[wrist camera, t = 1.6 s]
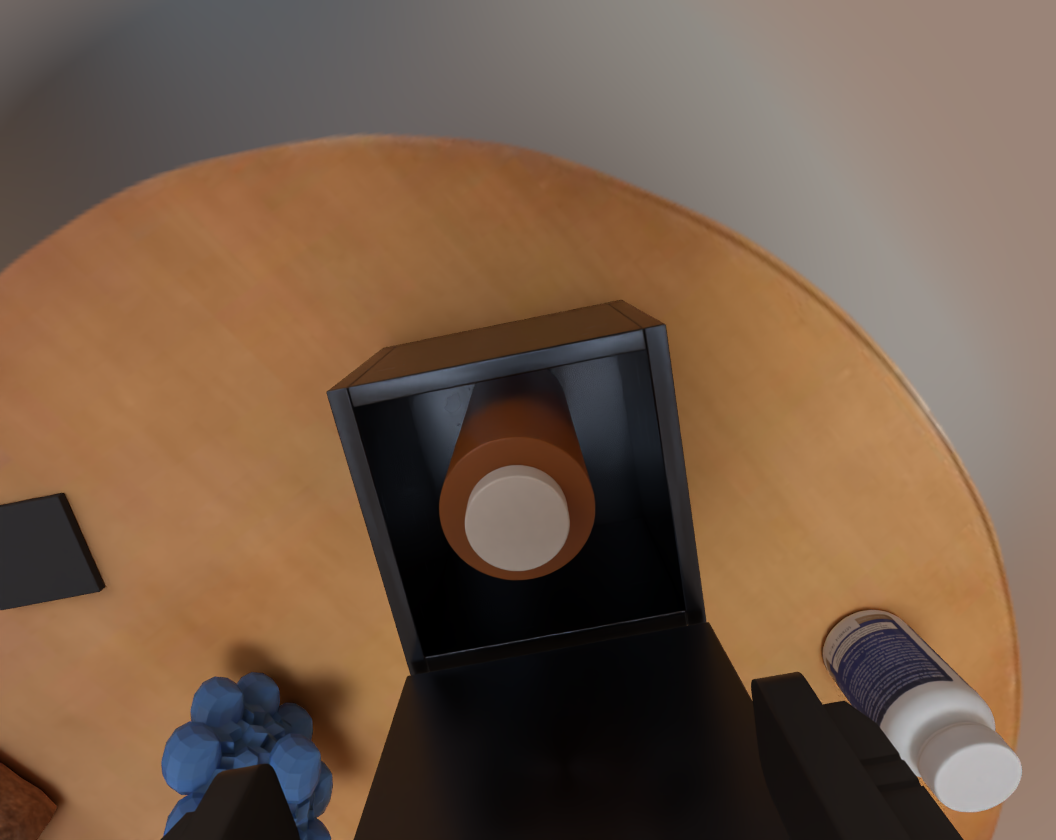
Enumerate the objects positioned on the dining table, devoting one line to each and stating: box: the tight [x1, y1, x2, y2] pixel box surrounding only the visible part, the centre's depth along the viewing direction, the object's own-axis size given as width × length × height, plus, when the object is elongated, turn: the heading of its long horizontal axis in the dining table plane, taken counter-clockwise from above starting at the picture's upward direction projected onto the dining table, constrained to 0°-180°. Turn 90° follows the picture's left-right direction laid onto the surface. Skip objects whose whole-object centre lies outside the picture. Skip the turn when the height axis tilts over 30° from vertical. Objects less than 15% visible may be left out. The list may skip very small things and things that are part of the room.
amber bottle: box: [439, 369, 595, 580], centre depth 26 cm, size 5×5×14 cm
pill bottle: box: [823, 610, 1022, 812], centre depth 33 cm, size 5×5×10 cm
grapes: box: [161, 672, 333, 840], centre depth 32 cm, size 12×7×12 cm, turn 33°
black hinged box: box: [327, 300, 706, 675], centre depth 29 cm, size 13×13×10 cm
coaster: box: [0, 493, 105, 610], centre depth 35 cm, size 6×6×1 cm
